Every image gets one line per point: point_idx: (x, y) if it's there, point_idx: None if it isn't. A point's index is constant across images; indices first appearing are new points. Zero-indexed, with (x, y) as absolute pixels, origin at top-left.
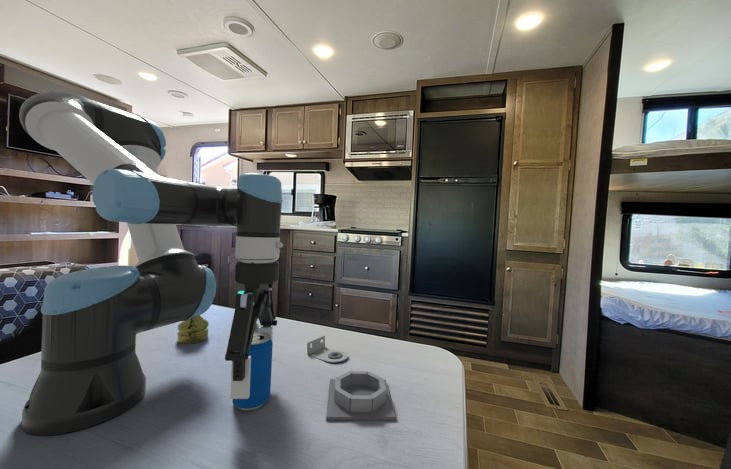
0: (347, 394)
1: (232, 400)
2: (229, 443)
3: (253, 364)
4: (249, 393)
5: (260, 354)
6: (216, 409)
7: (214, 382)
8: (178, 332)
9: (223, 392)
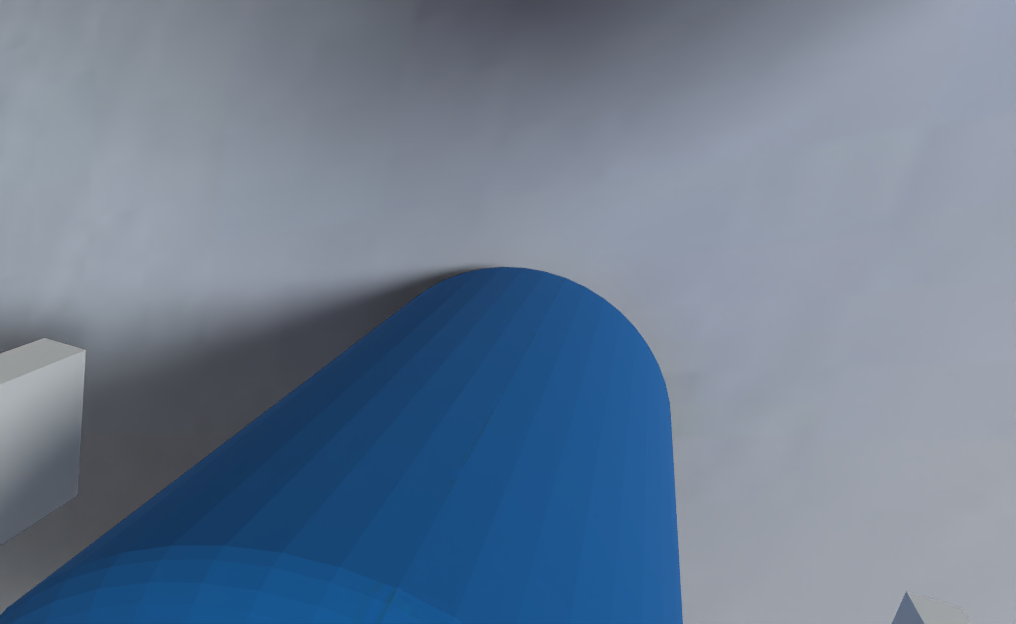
0: None
1: (478, 271)
2: (113, 290)
3: None
4: (49, 507)
5: None
6: (471, 140)
7: (995, 9)
8: None
9: (736, 151)
